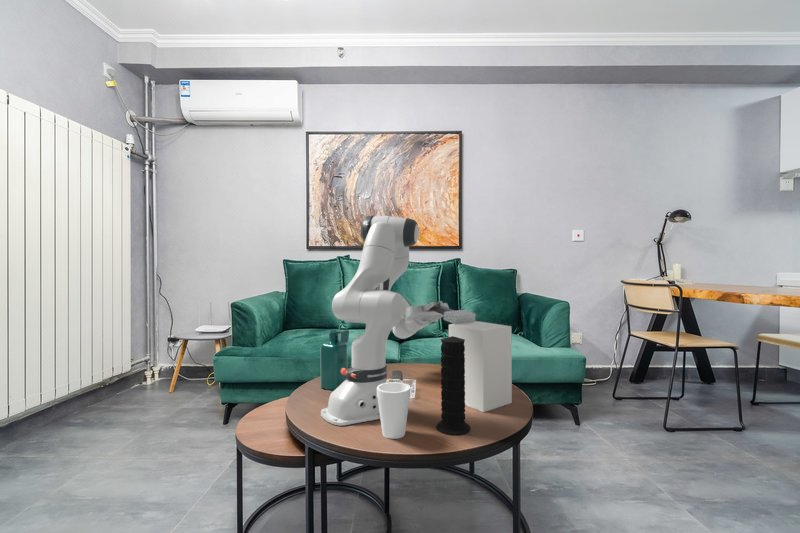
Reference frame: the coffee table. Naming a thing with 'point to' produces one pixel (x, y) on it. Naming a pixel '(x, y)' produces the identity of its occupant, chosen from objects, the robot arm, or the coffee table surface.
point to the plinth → (486, 363)
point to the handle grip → (453, 387)
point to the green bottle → (333, 359)
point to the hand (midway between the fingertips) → (437, 303)
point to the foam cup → (393, 408)
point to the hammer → (454, 314)
